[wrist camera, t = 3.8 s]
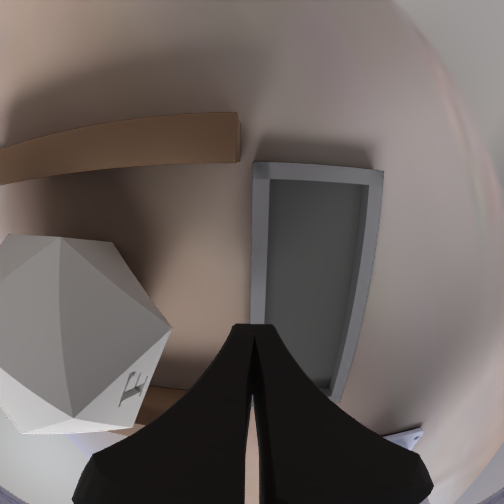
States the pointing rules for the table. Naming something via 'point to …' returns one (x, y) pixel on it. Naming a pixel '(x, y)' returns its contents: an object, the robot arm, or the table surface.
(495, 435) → the table surface
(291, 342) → the grey flat rectangular tray
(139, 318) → the die
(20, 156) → the channel
